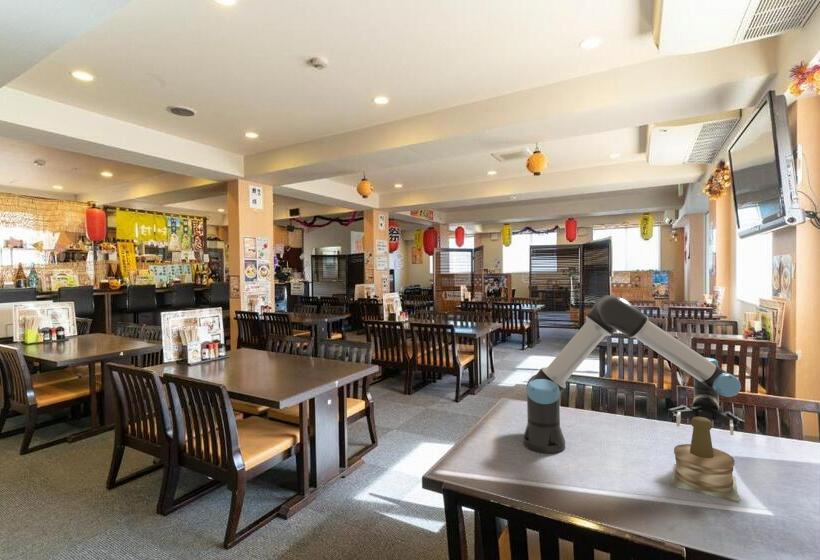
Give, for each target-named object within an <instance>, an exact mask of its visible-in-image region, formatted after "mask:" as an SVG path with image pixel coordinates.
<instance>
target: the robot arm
mask: <svg viewBox="0 0 820 560" xmlns="http://www.w3.org/2000/svg"><path fill="white" fill-rule="evenodd" d="M616 331H618V332H620V333H622V334H623V335H626V336H627V337H628V338H629V339H633V338H635V339H637V340H638V341H639V342H641V343H643V344H644V345H645V346H647V347H649V348H650V349H652V350H653V351H654V352H656V353H657V354H658V355H661V356H662V357H663V358H665V359H666V360H668V362H669V361H670V363H672V364H674V365H675V366H677V367H678V368H680V369H681V370H682V371H684V372H685V373H687V374H688V375H690V376H692V378H693V400H692V401H693V402H692V406H691V407H687V405H685V404H680V406H675V407H672V408H668V409H667V417H668V418H670V419H671V418H673V421H674V422H676V427H680V425H681V421H682V420H681V419H689V418H691V419H692V418H693V417H704V418H707V419H709V420H710V421H711V422H715V423H720V424H723V425H725V426H728V427H729V433H730V434H729V435H730V436H734V431H739V429H741V430H745V429H746V428H745V426H746V424H745V423H746V422H745V420H744V419H742V418H740V417H739V416H736V415H735V414H733V413H732V412H731V411H729V410H727V411H724V412H721V411H720V405H719V404H720V396H723V397H726V398H731V397H735V396H737V395H738V394H739V393H740V391H741V389H742V385H741V381H740V380H739V379H738V378H737V377H736V376H735V375H734V374H732V373H729V372H727V371H726V370H724V369H723V368H721V367H720V365H719V361H718V360H717V359H715V358H712V357H704V356H703V355H702V354H700V353H699V352H697V351H695V350H694V349H693V348H691V347H689V346H688V345H686V344H685V343H683V342H681V341H680V340H679V339H677V338H676V337H674V336H672V334H669V333H668V332H666V331H665V330H663V329H662V328H661V327H659V326H657V325H656V324H654V323H653V322H651V321H650V319H649V316H648V315H646V314H645V313H643V312H642V311H641V310H639V309H638V308H637V307H635V305H633V304H632V303H631V302H629V301H628V300H627V299H625V298H622V297H620V296H617V295H611V294H609V295H603V296H601V297H598V299H596V301H594V302H593V305H592V308H591V310H590V311H589V312H588V313H587V314H586V315H585V323H584V324H583V325H582V326H581V327H580V329H579V330H578V331H577V332H576V334H575V335H574V336H572V338H571V339H570V340H569V341H568V343H567V344H566V345H565V346H564V347H563V348H562V350H561V351H560V352H559V353H558V355H557V356H556V357H555V358H554V359H553V360H552V361H551V362H550V364H549V365H548V366H545V367H541V368H540V370H539V371H538V372H537V373H536V374H535V375H533V376H531V377H530V378H529V379H528V381H527V383H526V388H525V390H526V405H527V413H526V414H527V415H526V417H527V423H526V426H525V430H524V433H523V436H522V443H524V444H523V446H524V445H525V446H524V447H526V448H527V447H528V448H527V449H529V450H531V451H535V452H538V453H543V454H555V453H556V454H557V453H561V452H563V451H564V450H565V449H566V440H565V437H564V434H563V431H562V428H561V413H560V412H561V411H560V402H561V401H560V396H561V393H562V392H563V391H564V390H565V389H566V387H567V386H566V381H568V379H569V378H570V377H571V376H572V375H573V373H575V371H576V370H577V369H578V368H579V366H580V365H581V364H582V363H583V362H584V361H585V360H586V358H588V356H590V354H591V353H592V351H594V350H595V348H596V347H597V346H598V345H599V344H600V343H601V341H603V339H604V338H605V337H609V336H611V337H612V335H614V333H615V332H616ZM719 395H720V396H719Z"/></svg>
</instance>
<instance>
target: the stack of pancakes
mask: <svg viewBox="0 0 820 560" xmlns="http://www.w3.org/2000/svg"><path fill="white" fill-rule="evenodd" d="M690 447H691V443H685V444H684V443H683V444H678V445H676V446H674V448H673V453H674V459H675V463H674V464H673V468H672V474H671V481H670V487H673V488H678V489H682V490H686V491H691V492H695V493H698V494H702V495H707V496H710V497H715V498H719V499H722V500H727V501H731V500H732V502H735V503H739V502H740V501H739V500H740V499H739V494H738V493H739V492H738V485H737V478H736V476H733V471H734V466H735V459H734V457H733V456H732V455H730V454H729V453H727V452H725V451H724V450H723V451H722V450H720V449H717V448H714V447H713V454H714V457H713V458H703V457H698V456H695V455H693V454H691V453H690Z"/></svg>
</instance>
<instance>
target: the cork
mask: <svg viewBox="0 0 820 560" xmlns="http://www.w3.org/2000/svg"><path fill="white" fill-rule="evenodd" d="M690 424H691V426H692V428H693V429H692V434H691V435H692V436H691V441H690V444H691V447H690V453H691V454H693V455H695V456H698V457H703V458H713V457H714V454H713V448H714V447H713V444H712V437H711V430H712V427H713V424H712V421H710V420H709V419H707V418H704V417H693V418H691V421H690Z"/></svg>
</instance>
